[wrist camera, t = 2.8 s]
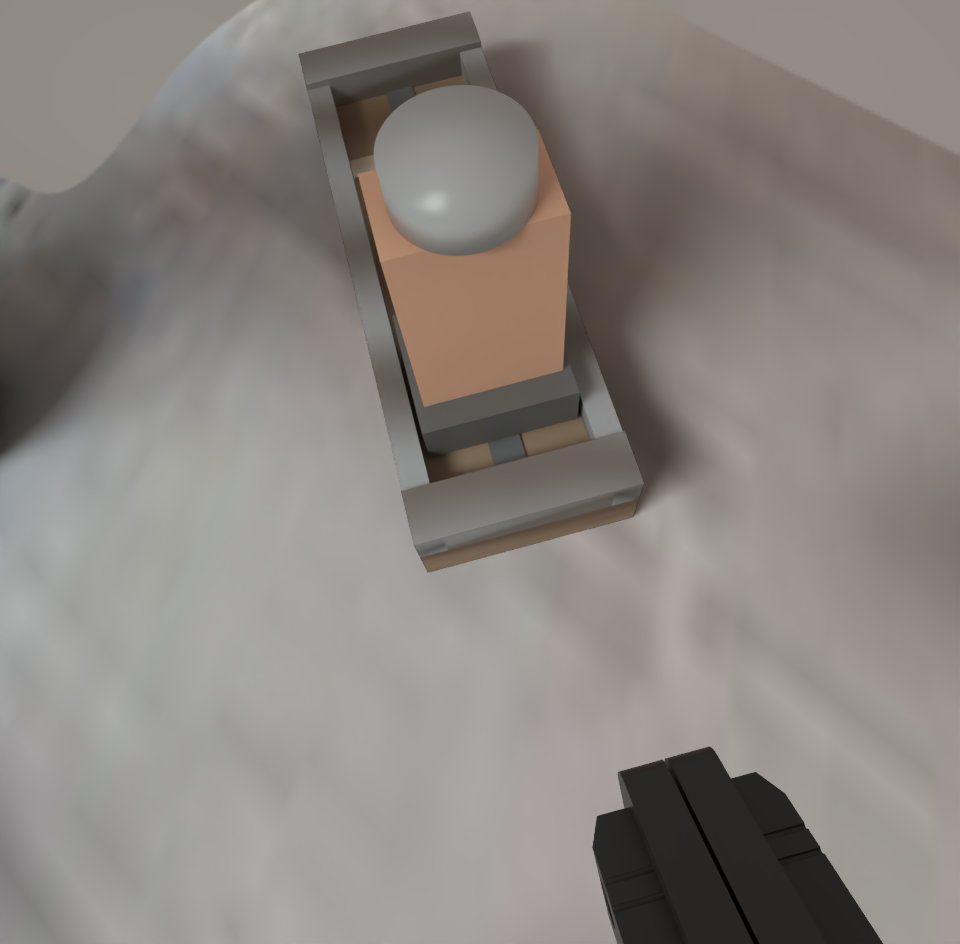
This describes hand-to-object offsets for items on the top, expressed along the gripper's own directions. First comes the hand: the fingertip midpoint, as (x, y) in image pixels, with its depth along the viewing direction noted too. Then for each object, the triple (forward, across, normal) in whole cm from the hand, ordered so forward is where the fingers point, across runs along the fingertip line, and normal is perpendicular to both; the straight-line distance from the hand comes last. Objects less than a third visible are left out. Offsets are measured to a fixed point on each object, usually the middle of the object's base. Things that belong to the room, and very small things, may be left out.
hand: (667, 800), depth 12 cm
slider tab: (+19, 0, -2) cm, 20 cm away
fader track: (+25, 0, -4) cm, 26 cm away
